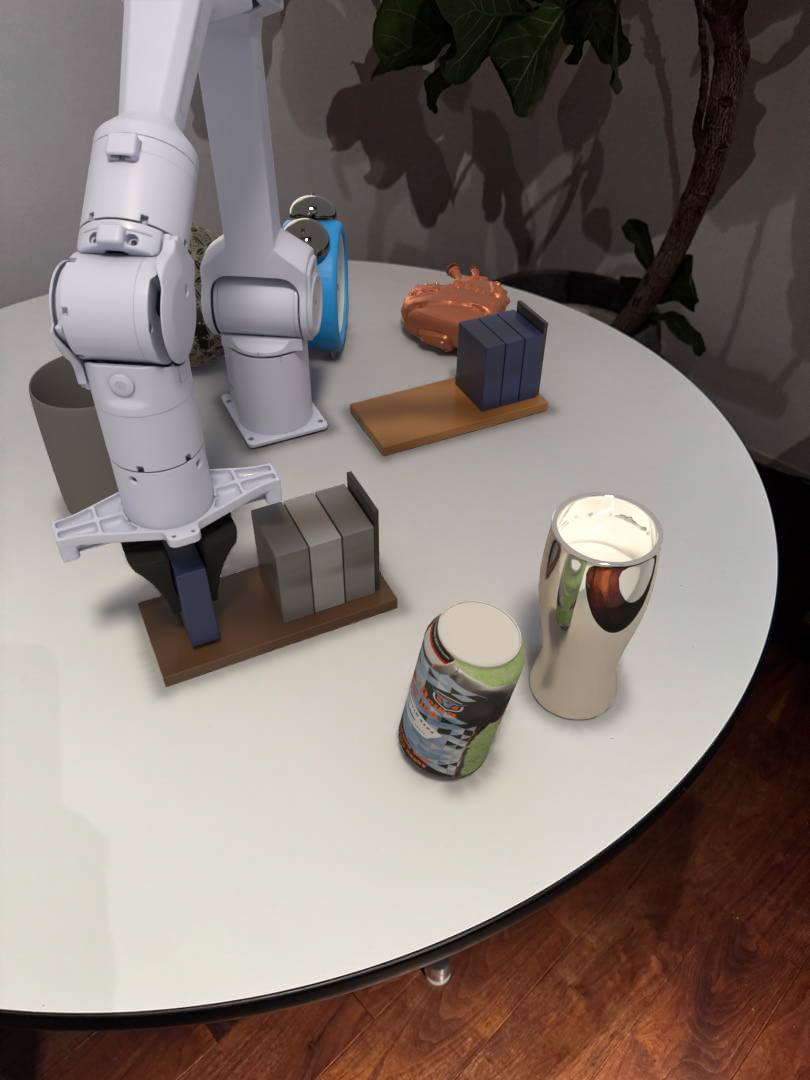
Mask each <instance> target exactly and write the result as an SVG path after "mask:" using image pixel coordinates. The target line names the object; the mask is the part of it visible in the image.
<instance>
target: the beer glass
mask: <svg viewBox="0 0 810 1080" xmlns="http://www.w3.org/2000/svg"><path fill="white" fill-rule="evenodd" d="M663 542H664V530H663V526H662V524H661V522H660V520H659V519H658V518H657V516H656V515H655V514H654V513H653V512H652V511H651V510H650V509H649V508H648V507H646V506H645V505H643V504H642V503H640V502H639V501H637V500H635V499H632V498H630V497H627V496H624V495H622V494H616V493H612V492H603V491H602V492H601V491H595V492H594V491H593V492H584V493H580V494H577V495H574V496H573V495H572V496H571V497H569V498H567V499H565V500H564V501H562V502H561V503H559V505H558V506H557V507H556V508H555V510H554V512H553V513H552V516H551V522H550V527H549V530H548V534H547V537H546V540H545V544H544V547H543V548H544V549H543V552H542V557H541V562H540V568H539V577H538V587H537V588H538V589H537V590H538V591H537V592H538V596H537V597H538V598H537V599H538V612H539V624H540V638H541V640H540V647H539V651H538V653H537V655H536V658H535V660H534V662H533V663H532V666H531V669H530V673H529V687H530V690H531V693H532V695H533V697H534V699H535V700H536V701H537V702H538V703H539V705H540V706H541V707H543V708H544V709H546V710H547V712H549V713H551V714H552V715H556V716H558V717H560V718H564V719H568V720H574V721H575V720H576V721H583V720H590V719H594V718H596V717H599V716H600V715H602V714H604V713H606V712H607V711H608V710H609V709H610V707H611V706H612V705H613V704H614V702H615V699H616V696H617V691H618V677H617V675H618V666H619V663H620V660H621V657H622V656H623V653H624V652H625V650H626V649H627V647H628V645H629V644H630V641H631V640H632V638H633V637H634V635H635V633H636V631H637V630H638V628H639V626H640V624H641V622H642V620H643V618H644V615H645V613H646V611H647V609H648V606H649V603H650V600H651V597H652V595H653V591H654V587H655V583H656V579H657V574H658V568H659V562H660V556H661V550H662V545H663Z"/></svg>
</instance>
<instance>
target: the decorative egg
mask: <svg viewBox="0 0 810 1080" xmlns="http://www.w3.org/2000/svg"><path fill="white" fill-rule="evenodd" d="M217 238H218V237H217V236H216V235H215V234H213V232H211V231H209V230H208V229H206V228H205V227H203V226H201V225H199V224H197V223H195V222H192V225H191V232H190V240H189V248H188V252H189V254H190V256H191V257H192V259H193V261H194V263H195V267H194V269H195V278H194V286H195V296H196V328H195V334H194V340H193V345H192V348H191V351H190V354H189V361H190V367H191V368H194V367H203V366H206V365H210V364H213V363H214V362H217V361H219V360H220V359H222V358H223V357H225V354H224V347H223V346H222V342H221V335H214V334H213V333H212V332H211V331H210V329H209V328H208V327H207V325H206V324H205V321H204V318H203V314H202V306H201V288H202V284H201V274H200V266H201V262H202V259H203V257H204V254H205V252H206V250H207V248H208V246H209V245H210V244H211V243H212V242H213V241H215V240H216V239H217Z"/></svg>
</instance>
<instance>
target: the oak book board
mask: <svg viewBox="0 0 810 1080" xmlns="http://www.w3.org/2000/svg"><path fill="white" fill-rule="evenodd" d="M548 326H549V322H548V321H547V320H545V318H544V317H542V316H541V315H540V314H539V313H537V312H536V311H534V310H533V308H531V307H530V306H529V305H528V304H526V303H525V302H524V301H523V300H521V299H520V300H519V299H518V300H517V302H516V309H510V310H506V311H505V312H501V313H497V315H496V314H493V315H488V316H484V317H480V318H478V319H477V318H475V319H471V320H466V321H462V322H459V330H458V348H456V349H457V350H456V367H455V377H450V378H446V379H444V380H439V381H435V382H431V383H427V384H423V385H419V386H415V387H412V388H407V389H404V390H400V391H395V392H391V393H388V394H384V395H380V396H377V397H376V396H375V397H371V398H368V399H364V400H360V401H357V402H352V403H350V404H349V407H350V408H349V410H350V414H351V415H352V416H353V418H354V419H355V420H356V421H357V423H358V424H359V426H360V427H361V429H363V430H364V432H365V433H366V435H367V436H368V437H369V439H370V440H371V441H372V443H373V444H374V445H375V447H376V448H377V449H378V450H379V452H380V454H381V455H382V456H383V457H385V456H389V455H392V454H396V453H399V452H404V451H406V450H410V449H414V448H417V447H420V446H424V445H427V444H431V443H435V442H439V441H442V440H445V439H449V438H450V439H451V438H453V437H457V436H461V435H464V434H468V433H471V432H475V431H478V430H481V429H482V430H483V429H485V428H489V427H493V426H497V425H499V424H504V423H507V422H510V421H515V420H518V419H522V418H525V417H529V416H532V415H536V414H539V413H543V412H546V411H548V407H549V401H548V400H547V399H545V397H543V396H542V395H541V394H540V388H541V381H542V374H543V373H542V372H543V366H544V359H545V351H546V343H547V335H548V328H549V327H548Z"/></svg>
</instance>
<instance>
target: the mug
mask: <svg viewBox="0 0 810 1080" xmlns="http://www.w3.org/2000/svg"><path fill="white" fill-rule="evenodd" d="M28 393H29V399H30V402H31V406H32V409H33V413H34V416H35V419H36V423H37V426H38V429H39V432H40V435H41V437H42V441H43V444H44V447H45V450H46V453H47V457H48V460H49V462H50V465H51V467H52V468H51V469H52V472H53V474H54V477H55V480H56V483H57V485H58V488H59V492H60V494H61V496H62V499H63V502H64V504H65V506H66V508H67V510H68V511H69V513H70V514H71V515H74V514H76V513H78V512H80V511H82V510H84V509H86V508H88V507H90V506H92V505H94V504H96V503H98V502H100V501H101V500H103V499H105V498H107V497H109V496H111V495H113V494H115V493H117V492H119V490H118V487H117V483H116V479H115V476H114V472H113V468H112V465H111V461H110V457H109V454H108V451H107V447H106V444H105V440H104V436H103V433H102V429H101V426H100V422H99V418H98V415H97V411H96V408H95V404H94V400H93V397H92V393H91V390H87V389H86V388H83V387H82V386H81V384H78V381H77V378H76V374H75V371H74V368H73V366H72V364H71V363H70V361H69V360H67V359H66V358H65V357H64V356H63V355H61V356H58V357H56V358H53V359H52V360H50V361H48V362H46V363H44V364H43V365H41V366H40V367H39V368H38V369H36V371H35V372H34V373H33V374H32V375H31V377H30V379H29V382H28Z"/></svg>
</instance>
